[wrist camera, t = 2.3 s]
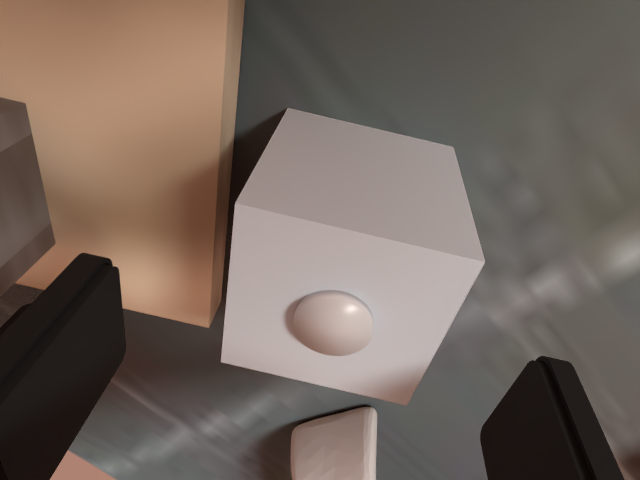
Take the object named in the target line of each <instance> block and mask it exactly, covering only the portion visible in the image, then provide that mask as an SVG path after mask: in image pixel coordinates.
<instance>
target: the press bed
mask: <svg viewBox="0 0 640 480" xmlns="http://www.w3.org/2000/svg"><path fill="white" fill-rule="evenodd" d="M244 7H245V0H0V297H1V296H2V295H3V294H4V293H5V292H6V291H7V290H8V289H9V288H10V287H11V286H12V285H13V284H14V283H16V284H20V285H25V286H29V287H33V288H38V289H42V290H45V289H46V288H47V287H48V286H49V285H50V284H51V283H52V282H53V281H54V280H55V279H56V278H57V276H58V275H59V274H60V273H61V272H62V271H63V270H64V269H65V268H66V267H67V266H68V265H69V264H70V263H71V262H72V261H73V260H74V259H75V258H76V257H77V256H78V255H79V254H80V253H88V254H92V255H97V256H101V257H106V258H109V259H111V261H112V264H113V266H115V267H118V269H119V274H120V286H121V297H122V308H124V309H129V310H133V311H137V312H141V313H146V314H150V315H154V316H159V317H163V318H167V319H172V320H176V321H180V322H185V323H189V324H193V325H198V326H202V327H206V328H209V327H210V324H211V322H212V320H213V318H214V316H215V313H216V311H217V309H218V307H219V304H220V302H221V296H222V283H223V271H224V258H225V245H226V233H227V220H228V208H229V195H230V183H231V170H232V158H233V145H234V133H235V120H236V107H237V95H238V82H239V70H240V57H241V45H242V32H243V20H244Z"/></svg>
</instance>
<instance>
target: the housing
mask: <svg viewBox="0 0 640 480" xmlns="http://www.w3.org/2000/svg"><path fill="white" fill-rule="evenodd" d="M484 263H485V260H484V256H483V253H482V249H481V245H480V242H479V238H478V235H477V231H476V227H475V224H474V220H473V216H472V213H471V209H470V205H469V202H468V198H467V195H466V191H465V187H464V184H463V180H462V176H461V173H460V169H459V165H458V162H457V158H456V154H455V151H454V147H451V146H447V145H443V144H438V143H434V142H430V141H426V140H421V139H417V138H413V137H409V136H405V135H400V134H396V133H392V132H388V131H383V130H379V129H375V128H371V127H367V126H362V125H358V124H354V123H350V122H345V121H341V120H337V119H333V118H329V117H324V116H320V115H316V114H312V113H307V112H303V111H299V110H295V109H291V108H287V110H286V112H285V114H284V116H283V117H282V119H281V121H280V123H279V125H278V126H277V128H276V130H275V132H274V134H273V136H272V137H271V139H270V141H269V143H268V145H267V146H266V148H265V150H264V152H263V154H262V155H261V157H260V159H259V161H258V163H257V164H256V166H255V168H254V170H253V172H252V173H251V175H250V177H249V179H248V181H247V182H246V184H245V186H244V188H243V190H242V192H241V193H240V195H239V197H238V199H237V201H236V202H235V209H234V220H233V231H232V243H231V254H230V265H229V276H228V287H227V298H226V310H225V321H224V332H223V343H222V354H221V362H222V363H226V364H231V365H235V366H239V367H244V368H248V369H252V370H257V371H261V372H265V373H270V374H274V375H278V376H282V377H287V378H291V379H295V380H300V381H304V382H308V383H313V384H317V385H321V386H325V387H330V388H334V389H338V390H343V391H347V392H351V393H356V394H360V395H364V396H368V397H373V398H377V399H381V400H386V401H390V402H394V403H399V404H403V405H407V404H408V402H409V400H410V398H411V397H412V395H413V393H414V391H415V389H416V387H417V386H418V384H419V382H420V380H421V378H422V377H423V375H424V373H425V371H426V369H427V367H428V366H429V364H430V362H431V360H432V358H433V356H434V355H435V353H436V351H437V349H438V347H439V345H440V344H441V342H442V340H443V338H444V336H445V334H446V333H447V331H448V329H449V327H450V325H451V323H452V322H453V320H454V318H455V316H456V314H457V313H458V311H459V309H460V307H461V305H462V303H463V302H464V300H465V298H466V296H467V294H468V292H469V291H470V289H471V287H472V285H473V283H474V281H475V280H476V278H477V276H478V274H479V272H480V270H481V269H482V267H483V265H484Z"/></svg>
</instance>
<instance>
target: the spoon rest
mask: <svg viewBox="0 0 640 480" xmlns="http://www.w3.org/2000/svg"><path fill="white" fill-rule="evenodd" d="M376 440H377V413H376V410H375V409H374V408H372V407H362V408H357V409H353V410H349V411H346V412H342V413H338V414H334V415H330V416H326V417H322V418H318V419H314V420H312V421H309V422H306V423H303V424H300V425H298V426H297V427H295V428H294V429H293V432H292V437H291V474H292V480H376Z"/></svg>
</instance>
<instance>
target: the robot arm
mask: <svg viewBox="0 0 640 480" xmlns="http://www.w3.org/2000/svg"><path fill="white" fill-rule="evenodd" d="M125 350H126V342H125V330H124V319H123V308H122V297H121V286H120V274H119V269H118V267H115V266H113V264H112V261H111V259H109V258H106V257H101V256H97V255H92V254H88V253H80V254H79V255H78V256H77V257H76V258H75V259H74V260H73V261H72V262H71V263H70V264H69V265H68V266H67V267H66V268H65V269H64V270H63V271H62V272H61V273H60V274H59V275H58V276H57V278H56V279H55V280H54V281H53V282H52V283H51V284H50V285H49V286H48V287H47V288H46V289H45V290H44V291H43V292H42V293H41V294H40V295H39V296H38V297H37V298H36V299H35V301H34V302H33V303H32V304H27V305H25V306H23V307H21V308H20V309H19V310H18V311H16V312H15V313H14V314H13V316H12V317H11V318H10V319H9V320H8V321H7V322H6V323H5V324H4V325H3V326H2V327H1V328H0V480H50V478H51V476H52V474H53V473H54V472H55V470H56V468H57V467H58V465H59V463H60V462H61V460H62V458H63V457H64V455H65V453H66V452H67V450H68V449H69V447H70V445H71V444H72V442H73V440H74V439H75V437H76V436H77V434H78V432H79V431H80V429H81V427H82V426H83V424H84V423H85V421H86V419H87V418H88V416H89V414H90V413H91V411H92V409H93V408H94V406H95V405H96V403H97V401H98V400H99V398H100V396H101V395H102V393H103V391H104V390H105V388H106V387H107V385H108V383H109V382H110V380H111V378H112V377H113V375H114V373H115V372H116V370H117V369H118V367H119V365H120V364H121V362H122V360H123V357H124V355H125ZM480 440H481V446H482V451H483V456H484V461H485V466H486V471H487V477H488V480H624V478H623V475H622V473H621V471H620V469H619V466H618V464H617V462H616V460H615V458H614V455H613V453H612V451H611V449H610V446H609V444H608V442H607V440H606V438H605V435H604V433H603V431H602V429H601V426H600V424H599V422H598V420H597V418H596V415H595V413H594V411H593V409H592V406H591V404H590V402H589V400H588V398H587V395H586V393H585V391H584V389H583V386H582V384H581V382H580V380H579V378H578V375H577V373H576V371H575V369H574V367H573V365H572V364H571V363H569V362H568V361H563V360H559V359H554V358H550V357H545V356H541V357H538V358H537V359H536V361H533V360H532V361H530V362H529V363H528V364H527V365H526V367H525V368H524V370H523V371H522V372H521V374H520V375H519V376H518V378H517V379H516V381H515V382H514V383H513V385H512V386H511V388H510V389H509V390H508V392H507V393H506V394H505V396H504V397H503V399H502V400H501V401H500V403H499V404H498V406H497V407H496V408H495V410H494V411H493V412H492V414H491V415H490V417H489V418H488V419H487V421H486V422H485V424H484V425H483V427H482V430H481V435H480Z"/></svg>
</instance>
